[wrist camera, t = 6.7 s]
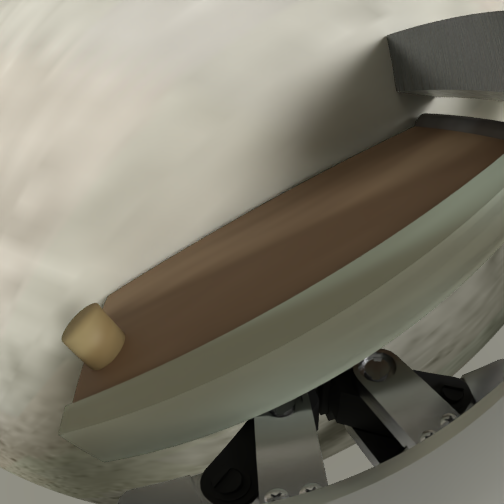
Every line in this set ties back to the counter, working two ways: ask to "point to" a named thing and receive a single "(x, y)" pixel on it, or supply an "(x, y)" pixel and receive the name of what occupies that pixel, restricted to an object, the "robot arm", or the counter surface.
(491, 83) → the grey rectangular blocks
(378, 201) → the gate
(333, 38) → the counter surface
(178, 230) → the counter surface
